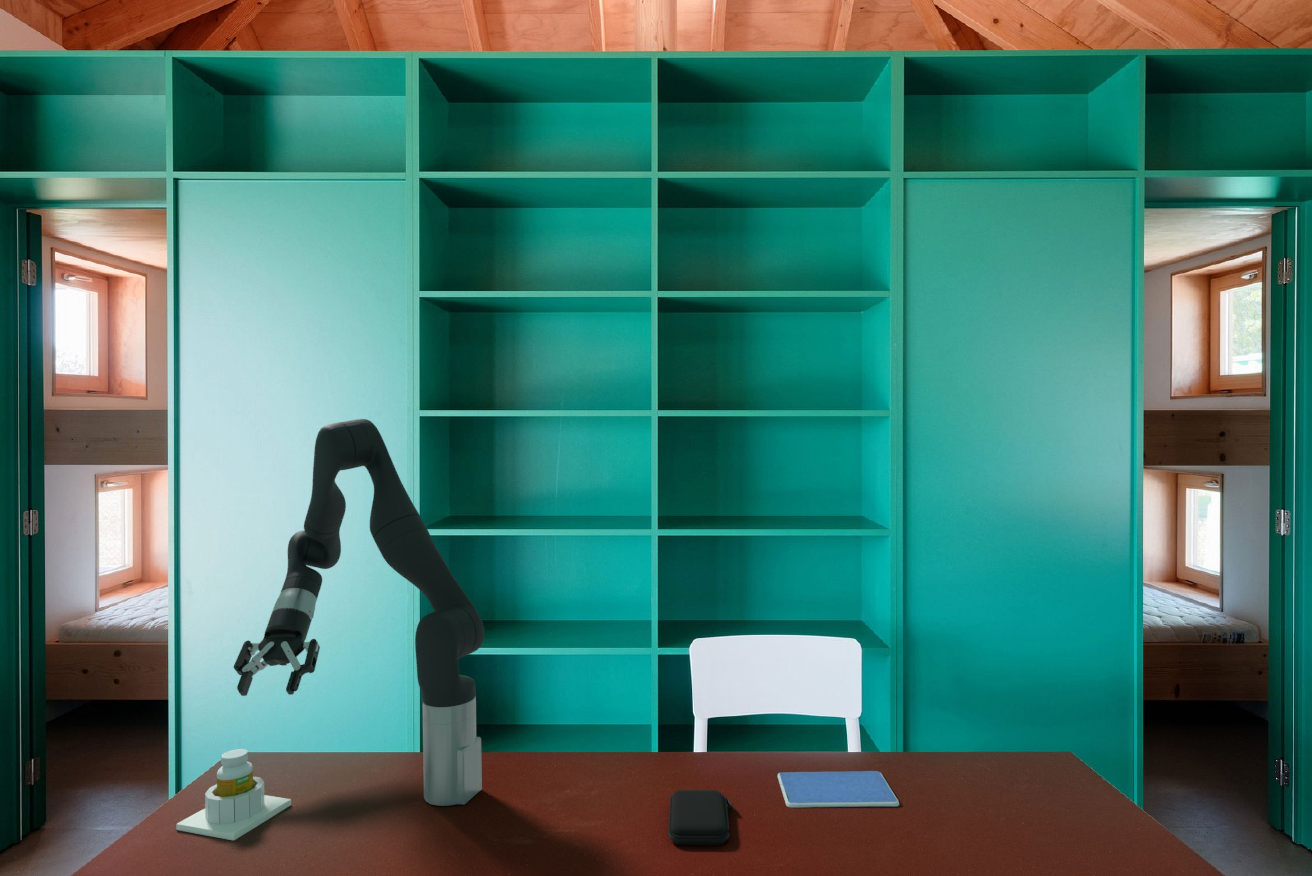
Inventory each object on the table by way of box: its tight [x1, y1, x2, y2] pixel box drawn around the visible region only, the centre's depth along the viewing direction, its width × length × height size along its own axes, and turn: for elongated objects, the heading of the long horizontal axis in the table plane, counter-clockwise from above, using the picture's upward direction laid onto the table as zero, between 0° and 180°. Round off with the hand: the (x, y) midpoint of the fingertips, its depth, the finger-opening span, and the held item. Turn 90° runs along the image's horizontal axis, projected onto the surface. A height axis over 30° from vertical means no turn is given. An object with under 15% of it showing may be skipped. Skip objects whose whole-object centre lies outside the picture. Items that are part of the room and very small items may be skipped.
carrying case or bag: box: [667, 789, 734, 846], centre depth 123 cm, size 11×3×15 cm
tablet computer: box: [777, 770, 900, 809], centre depth 134 cm, size 19×13×1 cm, turn 89°
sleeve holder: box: [175, 775, 292, 842], centre depth 127 cm, size 12×12×5 cm
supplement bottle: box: [216, 748, 254, 797], centre depth 128 cm, size 5×5×10 cm
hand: (265, 693), depth 139 cm, fingers open, 8 cm apart
